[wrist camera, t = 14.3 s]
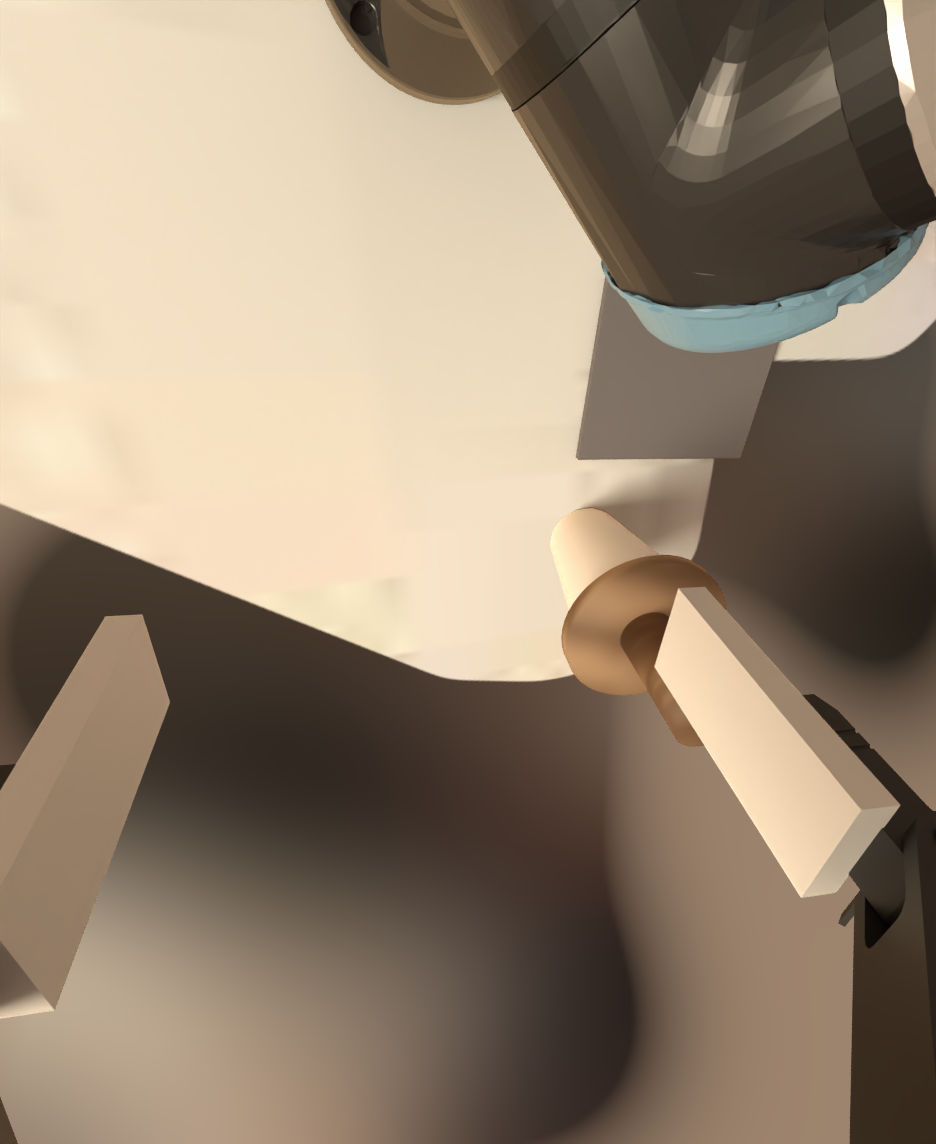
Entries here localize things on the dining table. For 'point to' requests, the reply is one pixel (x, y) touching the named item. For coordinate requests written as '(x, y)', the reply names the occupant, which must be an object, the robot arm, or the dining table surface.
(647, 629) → the lid
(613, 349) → the mat
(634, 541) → the foam cup
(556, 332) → the dining table surface
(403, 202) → the dining table surface
